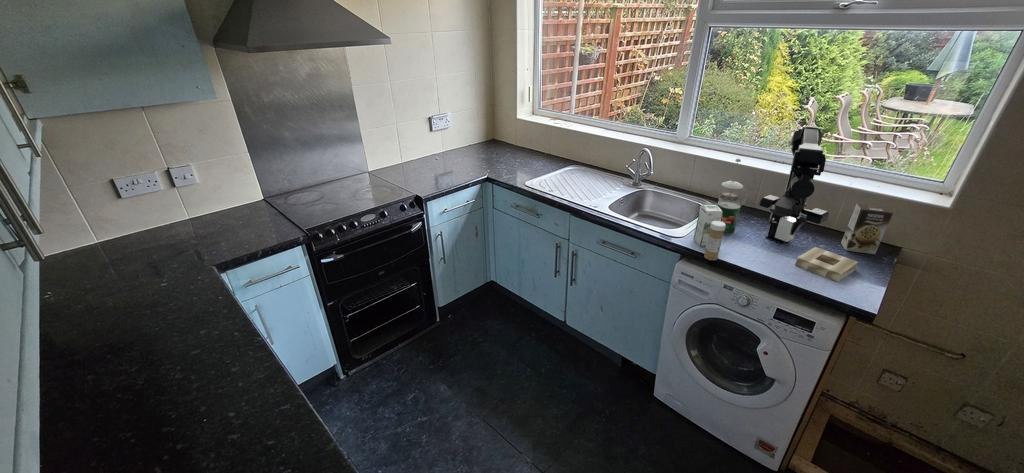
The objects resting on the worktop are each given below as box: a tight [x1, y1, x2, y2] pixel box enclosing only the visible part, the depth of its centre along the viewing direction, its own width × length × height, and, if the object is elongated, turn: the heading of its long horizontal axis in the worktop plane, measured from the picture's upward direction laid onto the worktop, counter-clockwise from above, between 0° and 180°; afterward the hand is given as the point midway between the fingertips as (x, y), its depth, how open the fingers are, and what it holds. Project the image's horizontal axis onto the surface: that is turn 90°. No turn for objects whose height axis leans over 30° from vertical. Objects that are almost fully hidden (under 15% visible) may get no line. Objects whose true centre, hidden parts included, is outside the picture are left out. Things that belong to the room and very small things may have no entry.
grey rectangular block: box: [775, 216, 796, 243], centre depth 142 cm, size 4×4×7 cm
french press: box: [716, 158, 749, 206], centre depth 178 cm, size 10×12×25 cm
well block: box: [794, 246, 859, 283], centre depth 145 cm, size 13×13×3 cm
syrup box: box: [693, 204, 723, 247], centre depth 158 cm, size 6×6×14 cm
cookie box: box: [840, 203, 893, 255], centre depth 153 cm, size 9×6×16 cm
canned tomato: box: [717, 200, 742, 236], centre depth 169 cm, size 8×8×11 cm
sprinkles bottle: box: [703, 221, 726, 261], centre depth 149 cm, size 5×5×13 cm
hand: (785, 232), depth 143 cm, fingers closed on grey rectangular block, 4 cm apart
